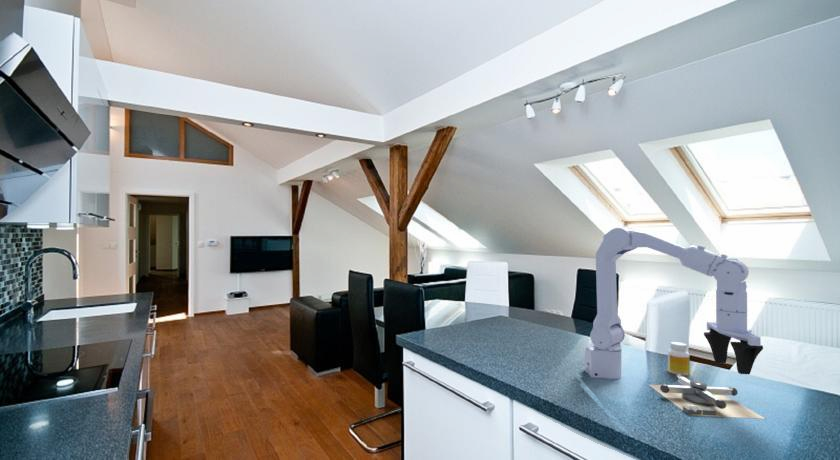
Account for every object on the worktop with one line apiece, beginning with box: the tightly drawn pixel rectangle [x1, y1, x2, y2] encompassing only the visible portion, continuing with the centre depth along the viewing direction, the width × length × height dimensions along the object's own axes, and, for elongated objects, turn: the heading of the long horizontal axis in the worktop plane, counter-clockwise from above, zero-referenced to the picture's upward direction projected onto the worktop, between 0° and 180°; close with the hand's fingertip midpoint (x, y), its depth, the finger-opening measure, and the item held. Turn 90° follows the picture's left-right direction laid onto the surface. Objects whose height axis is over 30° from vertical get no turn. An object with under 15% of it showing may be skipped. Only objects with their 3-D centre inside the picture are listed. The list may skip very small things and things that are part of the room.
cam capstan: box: [660, 374, 739, 409], centre depth 96 cm, size 18×18×4 cm
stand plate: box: [648, 384, 766, 420], centre depth 95 cm, size 16×18×1 cm
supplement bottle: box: [667, 341, 691, 377], centre depth 114 cm, size 5×5×10 cm
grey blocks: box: [682, 405, 716, 415], centre depth 88 cm, size 6×2×2 cm, turn 85°
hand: (731, 368), depth 91 cm, fingers open, 7 cm apart
